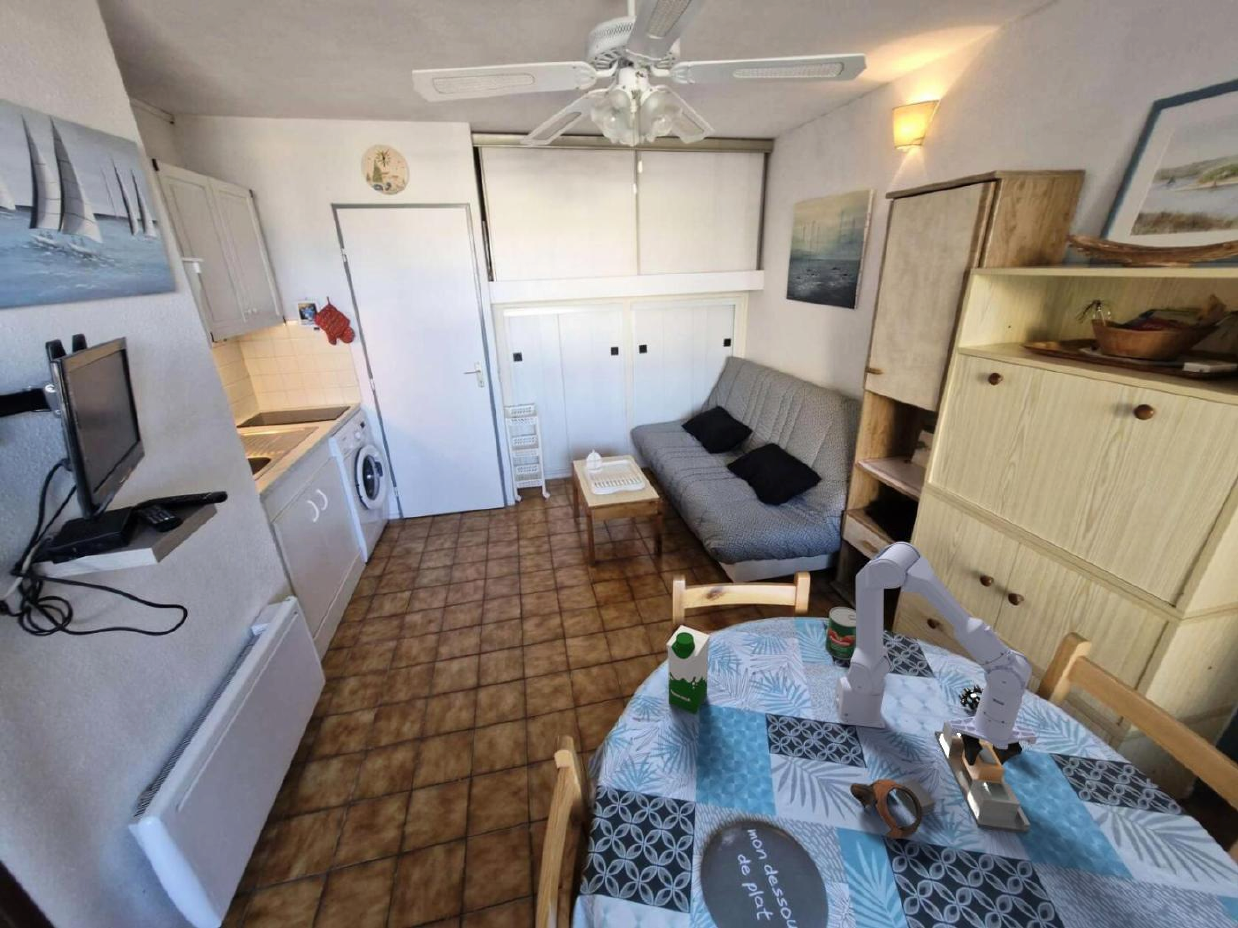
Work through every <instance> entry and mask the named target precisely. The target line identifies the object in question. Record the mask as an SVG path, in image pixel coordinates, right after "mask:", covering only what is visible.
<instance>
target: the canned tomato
mask: <svg viewBox="0 0 1238 928" xmlns="http://www.w3.org/2000/svg"><path fill="white" fill-rule="evenodd" d="M828 614H829V615H828V616H829V617H828V623H827V629H826V630H827V631H826V635H825V637H826V638H825V644H824V648H825V650H826V652H827V653H828V654H829V655H830V656H832V657H833V658H836V659H838V660H846V661H847V660H851V658H852V656H853V654H854V651H855V649H856V610H855V609H852V608H849V607H846V606H845V607H844V606H835V607H833V608H831V610H830V611H829V613H828Z"/></svg>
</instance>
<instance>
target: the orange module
mask: <svg viewBox="0 0 1238 928" xmlns="http://www.w3.org/2000/svg"><path fill="white" fill-rule="evenodd" d="M979 742H980V741H979ZM980 744H981V746H982V748H983V750H981V751H980V752H979V754H978V755H977V757H976V761H975V763H974V765H973V766H970V765H968V763H967V761H966V759H965V757H964V756H965V753H964V751H963V755H962V760H963V762H964V764H965V766H966V768H967V770H968V772H969V774H970V776H971V778H972V780H973V779H977V780H986V781H994V782H1001V780H1002V777H1004V774H1005V772H1006V771H1005V768H1004V767H1003V765H1001V763H1000V761H999V759H998V758H997V756H996V754H995V752H994V751H993V749H992V747H991V745H990V744H989V742H987V741H985V742H980Z"/></svg>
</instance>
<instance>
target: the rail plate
mask: <svg viewBox="0 0 1238 928" xmlns="http://www.w3.org/2000/svg"><path fill="white" fill-rule="evenodd" d="M947 722H948V721H944V722H943V727H942V731H939V730H934V736H935V739H936V742H937V743H938V746H939V748H940V750H941V752H942V754H943V756H944V758H945V760H946V762H947V765H948V766H949V769H950V771H951V774H952V775H953V778H954V780H955V782H956V784H957V786H958V787H959V790H960V792H961V795H962V796H963V798H964V800H965V803H966V805H967V808H968V809H969V811H970V813H971V816H972V818H973V820H974V822H975V824H976V827H977V828H978V829H985V830H986V829H987V830H994V831H1001V832H1006V833H1007V832H1009V833H1013V834H1014V833H1016V834H1023V835H1027V834H1028V833H1029V831H1030V830H1029V829H1030V828H1031V827H1030V826H1031V823H1030V822H1029V820H1028V818H1027V816H1026V815H1025V813H1024V811H1023V809H1022V808H1021V803H1020V800H1019V799H1018V797H1017V796H1016V794H1015V792H1014V790H1013V787H1011V784H1010V783H1009V782H1007V781H1006V780H1005V778H1004V776H1003V777H1002V780H1001V782H994V781H986V780H977V779H973V780H972V778H971V776H970V774H969V772H968V770H967V768H966V766H965V764H964V762H963V760H962V755H963V751H964V744H963V739H962V736H961V734H958V733H957V734H956V736H952V735H950V733H949V731H948V729H947V727H946V726H947ZM979 741H980V742H986V741H984V740H981V739H980V740H979Z"/></svg>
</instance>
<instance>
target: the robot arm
mask: <svg viewBox="0 0 1238 928" xmlns="http://www.w3.org/2000/svg"><path fill="white" fill-rule="evenodd" d="M899 587H902V589H901V590H900V592H902V593H907V594H917V595H920V596H922V597H923V598H924V599H925V600H926V601H927V602H928V603H929V604H930V605H931V606H932V607H933V608H934V609H935V610H936V611H937V612H938V613H939V614H940V615H941V616H942V617H943V618H944V619H945V620H946V621H947V622H948V623H949V624H951V626H952V627H953V628H954V629H953V632H954V633H953V635H954V636H953V637H954V638H955V640H956V641H957V642H958V643H959V644H960V645H961V646H962V647H963V648H964V650H966V651H967V653H968V654H969V655H970V656H971V657H972V658H973V659H974V660H975V661H976V663H978V665H979V666H980V667H981V668H982V669H983V670H984V671H985V672H984V674H983V675H984V681H985V683H984V685H983V688H982V689H983V691H982V694H980V702H979V705H978V708H977V709H976V712H975V715H974V716H969V717H965V718H959V719H948V720H947V721H946V722H947V726H946V727H947V729H948V731H949V733H950V735H952V736H956V734H957V733H958V734H961V736H962V739H963V744H964V753H965V756H964V757H965V759H966V761H967V763H968V765H970V766H973V765H974V763H975V761H976V757H977V755H978V754H979V752H980V751H981V750H983V748H982V746H981V744H980V742H979V740H980V739H981V740H984V741H985V742H990V743H993V747H992V749H993V751H994V752H995V754H996V756H997V758H998V759H999V761H1000V763H1001V765H1002V766H1003V765H1004V764H1006V762H1007V761H1008V760H1010V759H1011V758H1013V757H1015V756H1019V755H1021V754H1022V752H1023V747H1022V746H1021V744H1020V742H1024V741H1026V742H1027V743H1028V744H1030V745H1036V743H1037V741H1038V735H1037V734H1036V733H1035V730H1033V728H1032V727H1025V726H1021V725H1018V724H1015V723H1016V722H1017V721H1016V720H1017V717H1018V714H1019V712H1020V709H1021V705H1022V702H1023V696H1024V695H1025V693H1026V688H1027V685H1028V683H1029V681H1030V679H1031V676H1032V673H1033V668H1032V664H1031V663H1030V661H1029V660H1028V658H1027V656H1026V655H1024V654H1022V653H1021V652H1019V651H1017V650H1014V649H1012V648H1010V647H1009V646H1008V645H1006V644H1005V643H1004V642H1003V641H1002V640H1001V639H1000V638H999V637H998V636H997V635H996V630H995V629H994V628H993V627H992V625H988V624H986V623H985V621H984V620H982V619H980V618H975V617H972V616H970V615H969V613H967V611H966V610H965V608H963V606H962V605H961V604H960V603H959V602H958V600H957V598H955V597H954V595H953V594H952V593H951V592H950V591H949V589H948V588H947V587H946V586H945V584H944V583H943V582H942V580H940V578H939V577H938V576H937V574H936V573H935V572H934V570H933V568H932V566H931V563H930V562H929V560H928V559H927V558H926V557H925V556H923V555H922V554H921V553H920V551H919V550H918V548H917V547H916V546H914V545H912V544H911V543H910V542H905V541H896V542H894V543H892V544H890V545H887V546H885V547H884V548H883V549H881V550H880V551H879V552H878V553H877V554H876V555H875V556H874V557H873V558H872V559H870V560H869V562H867V563H866V564H865V565H864V567H862V568H861V569H860V570H859V572H858V573H857V574H856V575H855V611H856V649H855V651H854V654H853V656H852V658H851V659H850V662H849V663H850V666H849V668H848V669H847V671H846V674H845V676H841V677H837V678H836V683H835V691H834V695H833V701H834V704H835V708H836V712H837V715H838V719H839V722H840V724H842V725H851V726H857V727H858V726H860V727H866V728H867V727H869V728H877V729H878V728H879V729H886V724H885V721H884V719H883V716H882V714H881V710H882V704H883V700H884V693H885V689H886V683H885V677H887V675H888V674H889V673H890V672H892V668H893V664H892V661H891V659H890V657H889V655H888V648H887V647H885V646H884V597H885V596H884V590H885V589H898V588H899Z"/></svg>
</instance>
